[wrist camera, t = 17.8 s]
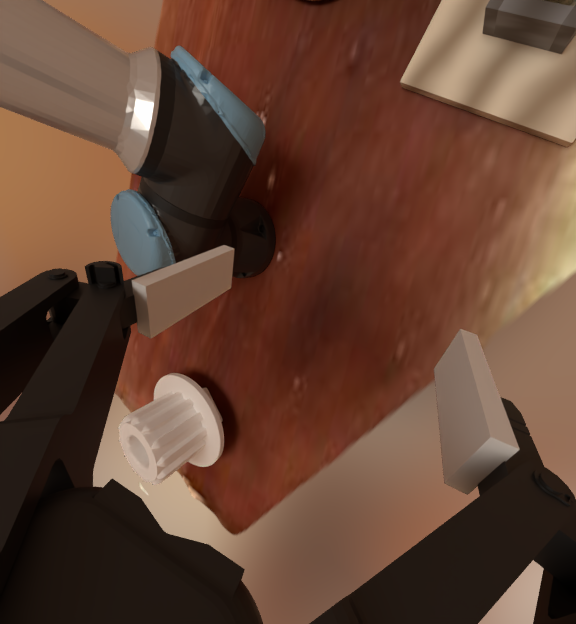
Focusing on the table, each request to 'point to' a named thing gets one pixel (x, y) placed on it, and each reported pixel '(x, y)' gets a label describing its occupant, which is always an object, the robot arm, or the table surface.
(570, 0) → the brass post
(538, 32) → the socket board
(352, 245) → the table surface
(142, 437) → the flanged gear
